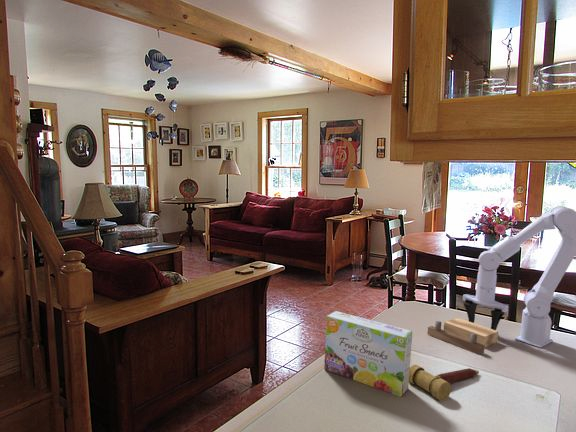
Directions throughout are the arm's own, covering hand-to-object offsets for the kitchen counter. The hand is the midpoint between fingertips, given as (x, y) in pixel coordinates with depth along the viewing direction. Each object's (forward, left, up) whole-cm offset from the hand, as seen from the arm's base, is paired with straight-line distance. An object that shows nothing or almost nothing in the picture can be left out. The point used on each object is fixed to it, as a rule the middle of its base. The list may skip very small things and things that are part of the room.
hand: (482, 326), depth 141 cm
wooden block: (+8, 0, -2) cm, 8 cm away
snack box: (+58, 0, -2) cm, 58 cm away
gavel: (+40, +13, -3) cm, 42 cm away
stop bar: (+17, 0, -2) cm, 17 cm away
